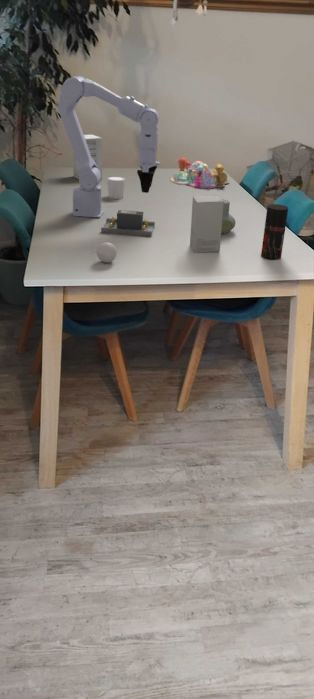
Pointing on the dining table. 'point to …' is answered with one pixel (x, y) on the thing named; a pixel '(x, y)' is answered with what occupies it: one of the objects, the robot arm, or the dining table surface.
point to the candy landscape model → (199, 175)
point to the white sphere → (106, 252)
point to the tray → (112, 228)
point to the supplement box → (95, 151)
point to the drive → (129, 220)
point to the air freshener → (227, 218)
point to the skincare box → (206, 223)
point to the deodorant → (274, 231)
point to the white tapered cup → (116, 187)
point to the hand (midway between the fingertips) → (146, 189)
